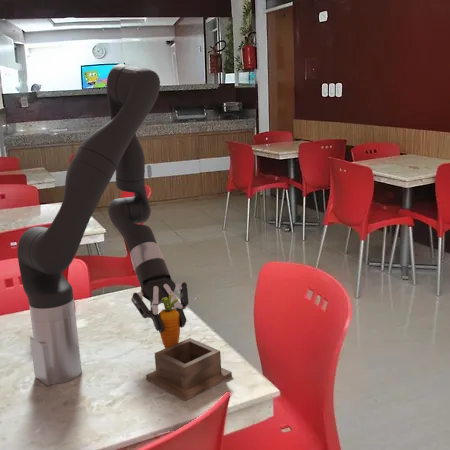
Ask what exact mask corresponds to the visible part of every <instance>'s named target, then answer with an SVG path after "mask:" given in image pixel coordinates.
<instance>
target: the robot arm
mask: <svg viewBox="0 0 450 450" xmlns="http://www.w3.org/2000/svg"><path fill="white" fill-rule="evenodd" d="M160 90H161V80H160V76H159V75H158V73H157V72H156V71H154V70H152V69H149V68H145V67H140V66H134V65H130V64H125V63H124V64H123V63H122V64H121V63H119V64H116V65H114V66H112V68H111V69H110V70H109V72H108V75H107V79H106V95H107V104H108V111H109V117H110V120H109V121H108V122H107V123H105V124H104V125H102V126H101V127H99V128H98V129H97V130H95V131H93V133H91V134H89V135H88V136H87V137H86V138H85V139H84V140H83V141H82V142H81V143H80V145H79V147H78V148H77V150H76V151H75V154H74V155H73V157H72V159H71V161H70V163H69V165H68V167H67V171H66V175H65V182H64V193H63V198H62V199H63V200H62V201H61V205H60V208H59V210H58V212H57V213H56V215H55V217H54V219H53V220H52V222H51V224H50V225H49V227H46V226H34V227H31V228H28V229H27V230H25V231H24V232H23V233H22V234H21V236H20V238H19V240H18V243H17V252H16V253H17V261H18V267H19V273H20V279H21V284H22V288H23V291H24V293H25V294H26V297H27V299H28V300H27V301H28V304H29V313H30V323H31V327H32V328H31V329H32V335H31V336H29V340H30V349H31V356H32V365H33V371H34V377H35V378H36V379H37V380H39V381H40V382H42V383H43V384H45V385H46V386H50V385H55V384H63V383H66V382H69V381H72V380H73V379H75V378H77V377H78V376H79V375H80V374H81V373H82V368H83V367H82V359H81V353H80V343H79V333H78V326H77V317H76V315H77V314H76V313H75V309H76V305H75V306H74V302H75V299H74V289H73V286H72V285H71V283H70V282H69V280H68V281H67V280H66V278H65V277H64V275H63V273H62V272H63V271H64V270H66V269H67V268H68V266H69V267H70V266H71V264H72V262H73V261H74V259H75V257H76V254H77V252H78V250H79V248H80V244H81V242H82V239H83V237H84V235H85V231H86V229H87V227H88V224H89V222H90V220H91V219H92V216H93V214H94V212H95V210H96V208H97V206H98V205H99V202H100V200H101V199H102V196H103V194H104V192H105V190H106V188H107V187H108V185H109V184H110V181H112V178H113V177H114V174H115V185H116V188H117V189H118V190H120V191H122V192H125V193H126V192H127V193H132V194H133V196H127V197H118V198H115V199H112V200H111V201H110V202H109V205H108V206H107V207H108V208H107V214H108V216H109V220H110V221H111V224H112V225H113V226H114V228H115V229H116V231H118V232H119V234H120V235H121V237H122V238H123V240H124V241H125V244H126V246H127V247H126V248H128V249H127V250H128V252H129V255H130V261H131V263H132V269H133V270H134V271H135V272H134V273H135V275H136V278H137V281H138V283H139V287H140V291H139V292H133V293H132V297H131V299H130V301H131V302H132V303H133V305H134V306H135V308H136V310H138V312H139V314H140V315H141V317H142V318H143V319H150V320H152V324H153V326H154V328H155V331H157V332H159V334H160V333H162V332H163V331H164V325H163V323H162V320H161V317H160V314H159V305H161V304H163V302H162V300H161V299H162V298H165V297H167V298H168V297H169V295H172V298H171V303H172V302H173V300H175V299H178V301H177V302H176V303H175V304H174V305H173V307H172V309H175V310H176V311H178V312H179V315H180V329H181V328H184V327H185V326H186V323H187V321H188V320H187V317H186V315H185V311H184V310H186V309H187V306H188V305H189V295H188V284H187V283H186V282H182V283H175V281H174V280H173V279H172V276H171V274H170V271H169V269H168V266H167V263H166V261H165V257H164V256H163V254H162V251H161V249H160V247H159V245H158V243H157V240H156V238H155V235H154V232H153V230H152V228H151V227H150V226H149V225H145V224H143V223H145V222H147V221H148V220H149V218H150V216H151V212H152V210H151V209H152V208H151V205H150V202H149V198H148V194H147V190H146V183H145V170H146V169H145V168H146V167H145V166H146V165H145V163H146V162H145V155H144V151H143V148H142V145H141V143H140V140H139V138H138V136H137V134H136V132H137V131H138V130H139V128H140V127H141V125H142V124H143V122H144V120H145V119H146V117H148V114H149V113H150V111H151V110H152V109H153V107H154V105H155V103H156V101H157V100H158V96H159V94H160ZM175 290H176V292H177V293H178V294H179V298H178V296H177V295H176V294H175ZM144 299H145V300H147V301H148V302H149V307H147V304H146V303H145V301H144ZM179 299H180V301H179ZM158 314H159V315H158Z"/></svg>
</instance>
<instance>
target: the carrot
mask: <svg viewBox="0 0 450 450" xmlns="http://www.w3.org/2000/svg"><path fill="white" fill-rule="evenodd" d="M171 298H172V295H169V297H168V298H167V297H165V298H162V299H161V300H162V302H163V303H162V304H163V305H164V306H163V307H164V308H163V309H162V310H160V312H158V315H159V314H160V317H161V320H162V323H163V325H164V331H163V332H162V333H159V334H160V338H161V342H162V345H163V346H164V349H165V348H168V347H170V346H172V345H175V344H177V343H180V333H181V327H180V315H179V312H178V311H176V310H175V309H173V308H172V307H173V305H174V304H175V303H176V302H177V301H179V298H178V299H175V300H173V302H172V303H171Z"/></svg>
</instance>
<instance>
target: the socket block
mask: <svg viewBox="0 0 450 450" xmlns="http://www.w3.org/2000/svg"><path fill="white" fill-rule="evenodd" d="M221 358H222V357H221V350H219V349H217V348H214V347H212V346H211V345H207V344H205V343H203V342H200V341H198V340H196V339H193V338H190V337H189V338H188V339H185V340H182V341H179V343H177V344H175V345H172V346H170V347H168V348H165V347H164V348H163V349H161V350H159V351H156V352H154V360H155V362H154V364H155V370H154V371H152V372H149V373H147V374H146V375H145V376H146V377H145V378H146V380H147V381H149V382H151V383H152V384H155V385H156V386H158V387H160V388H162V389H164V390H165V391H167V392H169V393H170V394H173V395H174V396H175V397H178V398H179V399H181V400H183V401H184V402H185V401H187V400H190V399H191V398H193V397H195V396H197V395H199V394H201V393H203V392H205V391H207V390H209V389H211V388H212V387H214V386H216V385H218V384H220V383H222V382H223V381H226V380H228V379H230V378H232V377H233V372H232V371H229V370H228V369H226V368H223V367H222V359H221Z"/></svg>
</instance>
